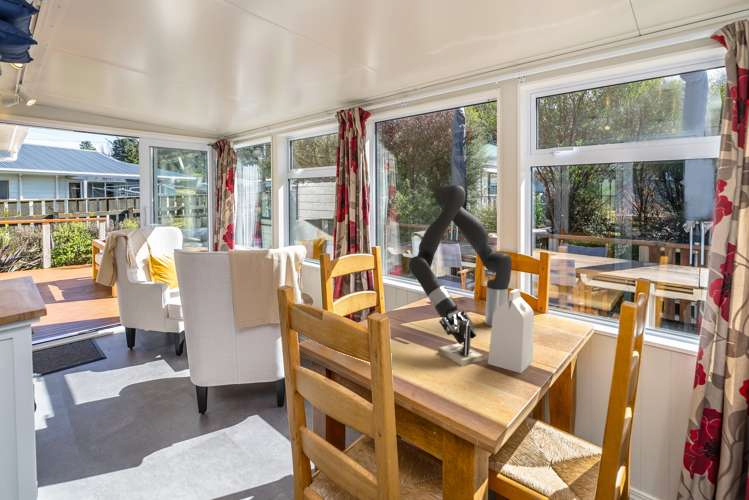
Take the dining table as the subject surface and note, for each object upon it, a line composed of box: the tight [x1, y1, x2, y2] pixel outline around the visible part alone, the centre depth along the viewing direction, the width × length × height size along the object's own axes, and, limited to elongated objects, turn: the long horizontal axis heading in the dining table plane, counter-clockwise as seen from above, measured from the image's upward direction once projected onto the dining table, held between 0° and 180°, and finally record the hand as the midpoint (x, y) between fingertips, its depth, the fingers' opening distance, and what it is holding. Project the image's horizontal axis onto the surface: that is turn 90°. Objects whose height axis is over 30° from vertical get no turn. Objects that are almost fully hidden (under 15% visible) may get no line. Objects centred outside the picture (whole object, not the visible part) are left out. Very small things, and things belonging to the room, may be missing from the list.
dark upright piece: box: [458, 320, 472, 356], centre depth 139 cm, size 7×4×11 cm, turn 160°
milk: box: [487, 288, 535, 374], centre depth 135 cm, size 12×12×26 cm
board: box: [437, 342, 485, 367], centre depth 142 cm, size 10×13×2 cm
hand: (468, 339), depth 138 cm, fingers closed on dark upright piece, 7 cm apart
